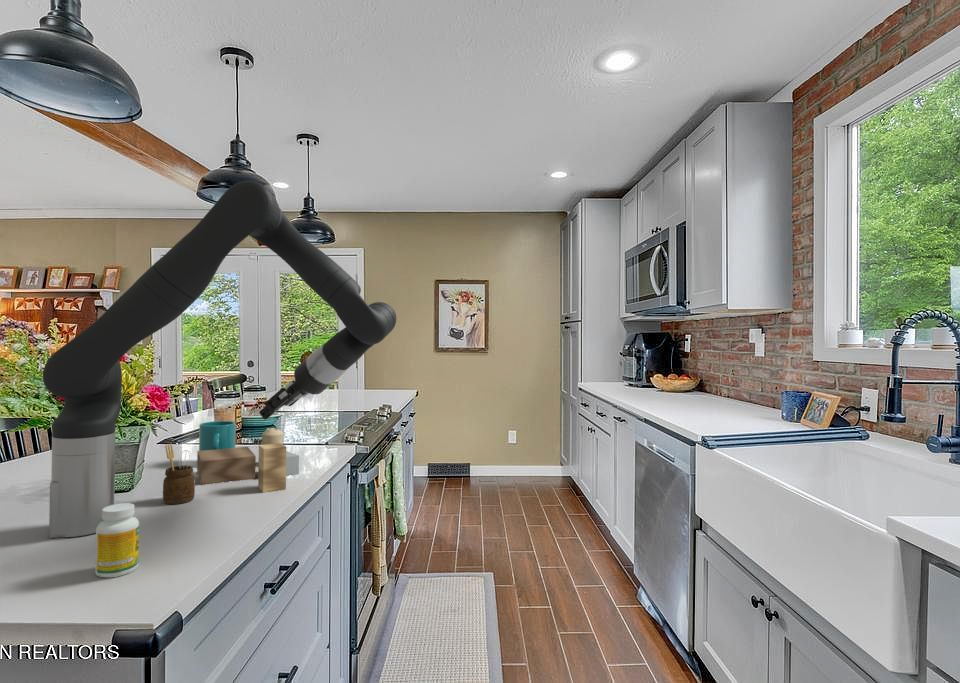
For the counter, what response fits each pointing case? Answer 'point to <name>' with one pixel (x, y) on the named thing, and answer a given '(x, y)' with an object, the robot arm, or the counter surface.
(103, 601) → the counter surface
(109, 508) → the supplement bottle
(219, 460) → the walnut block
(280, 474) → the oak pillar
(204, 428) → the cup
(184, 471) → the utensil holder
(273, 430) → the candle
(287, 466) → the grey block
